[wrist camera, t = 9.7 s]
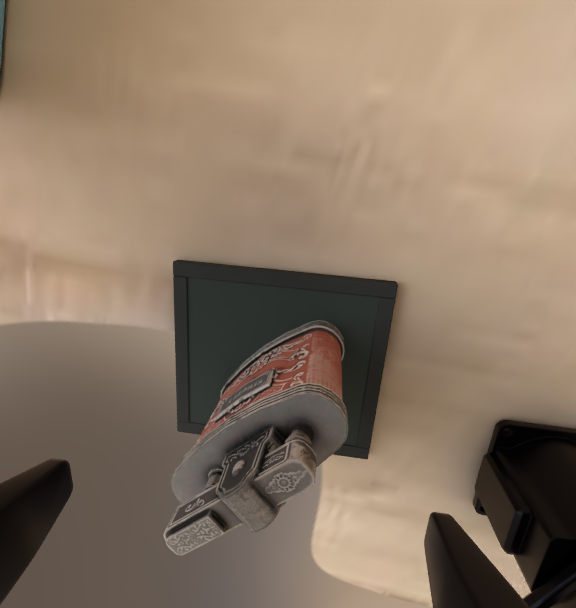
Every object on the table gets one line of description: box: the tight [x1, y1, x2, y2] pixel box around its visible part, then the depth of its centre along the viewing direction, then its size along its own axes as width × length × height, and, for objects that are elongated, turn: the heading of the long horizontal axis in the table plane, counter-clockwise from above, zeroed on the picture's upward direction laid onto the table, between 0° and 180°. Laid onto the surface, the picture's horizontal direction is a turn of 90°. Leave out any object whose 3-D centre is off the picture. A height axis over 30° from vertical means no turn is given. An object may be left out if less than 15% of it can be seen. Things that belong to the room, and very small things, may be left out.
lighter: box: [164, 320, 348, 555], centre depth 16 cm, size 8×3×10 cm, turn 129°
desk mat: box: [173, 260, 398, 459], centre depth 21 cm, size 12×11×1 cm
